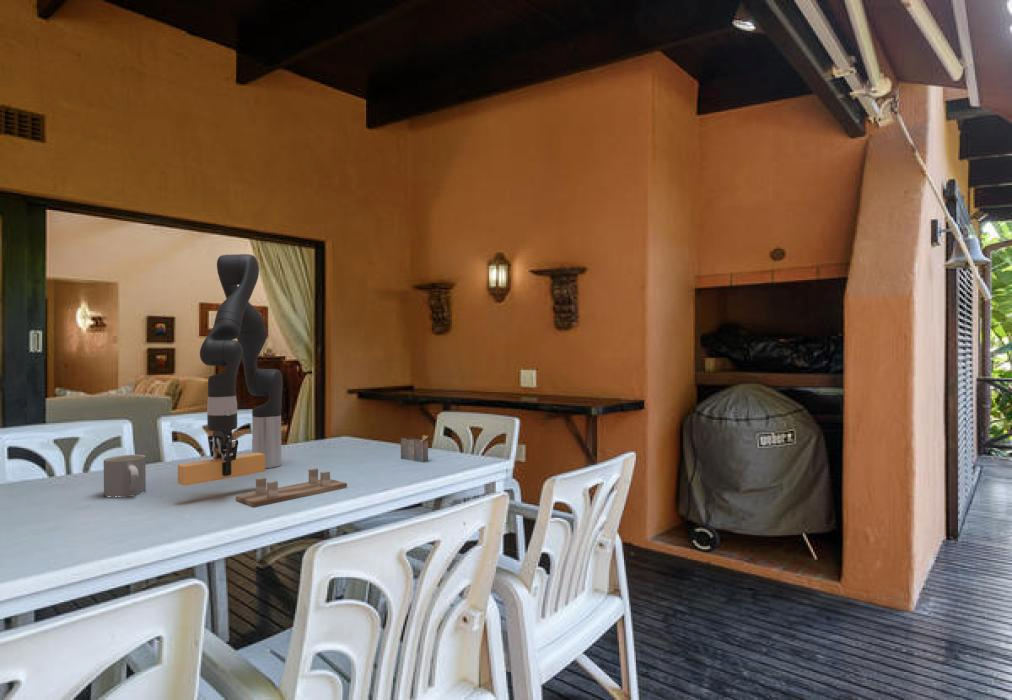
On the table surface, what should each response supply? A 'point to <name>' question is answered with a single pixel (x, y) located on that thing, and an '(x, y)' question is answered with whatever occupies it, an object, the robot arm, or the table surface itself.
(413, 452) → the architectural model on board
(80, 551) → the table surface
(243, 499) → the brown wooden bar holder
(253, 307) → the robot arm
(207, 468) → the orange wooden bar
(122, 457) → the coffee mug
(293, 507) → the table surface
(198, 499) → the table surface
